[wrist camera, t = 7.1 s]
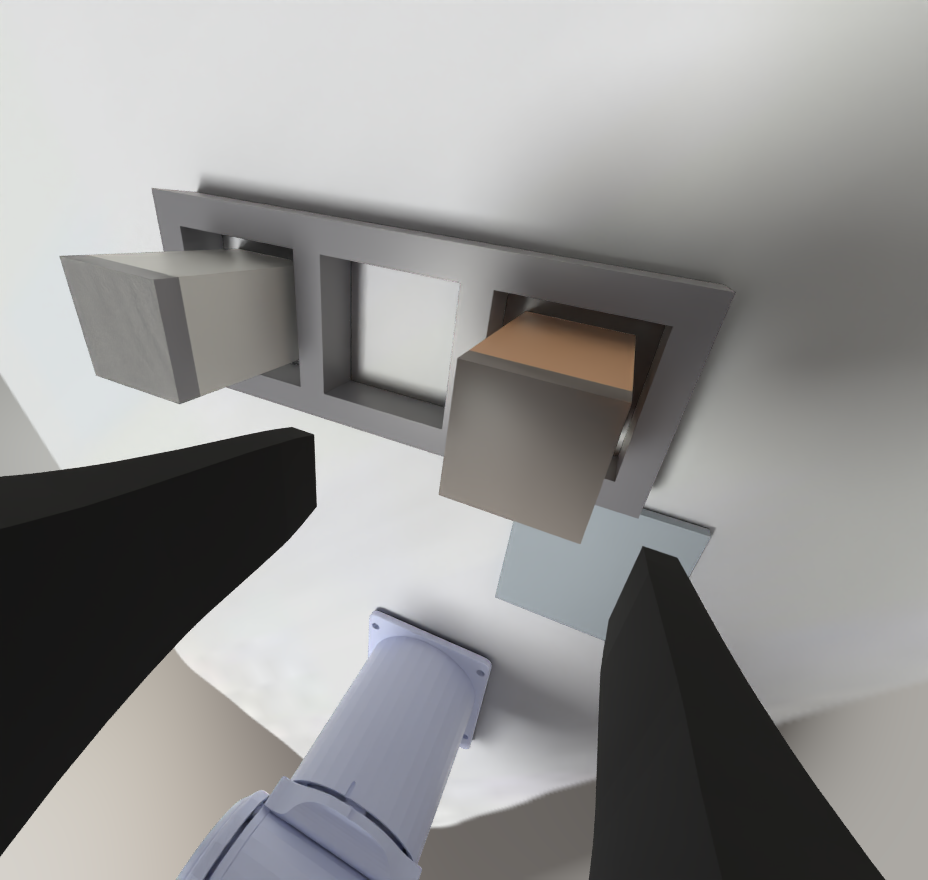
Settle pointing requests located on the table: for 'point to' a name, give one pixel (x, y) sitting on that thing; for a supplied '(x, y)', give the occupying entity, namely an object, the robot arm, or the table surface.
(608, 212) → the table surface
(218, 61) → the table surface
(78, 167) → the table surface
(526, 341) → the plug
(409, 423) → the gray slotted rack
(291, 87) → the table surface
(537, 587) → the mat
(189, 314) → the twin plug
